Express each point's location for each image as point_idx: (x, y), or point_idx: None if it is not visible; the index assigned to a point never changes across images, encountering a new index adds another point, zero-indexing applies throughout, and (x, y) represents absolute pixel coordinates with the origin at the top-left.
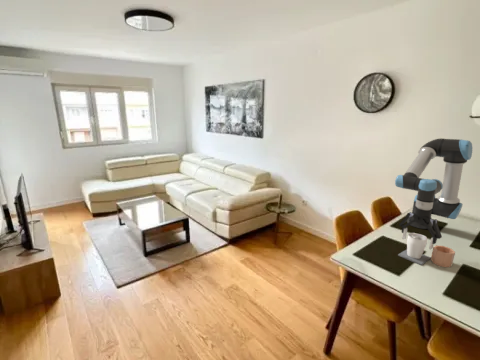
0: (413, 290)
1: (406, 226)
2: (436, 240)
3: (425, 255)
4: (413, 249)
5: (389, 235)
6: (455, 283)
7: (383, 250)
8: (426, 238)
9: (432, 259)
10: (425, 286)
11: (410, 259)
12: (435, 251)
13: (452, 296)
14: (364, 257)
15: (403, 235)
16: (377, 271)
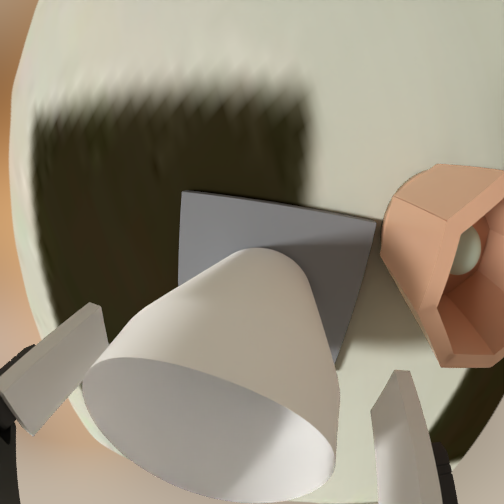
0: (319, 492)
1: (15, 465)
2: (451, 480)
3: (333, 218)
4: (244, 398)
5: (54, 75)
6: (461, 402)
7: (110, 323)
8: (328, 424)
9: (392, 277)
10: (352, 472)
11: None
12: (428, 340)
13: None
14: None
15: (78, 376)
16: None
